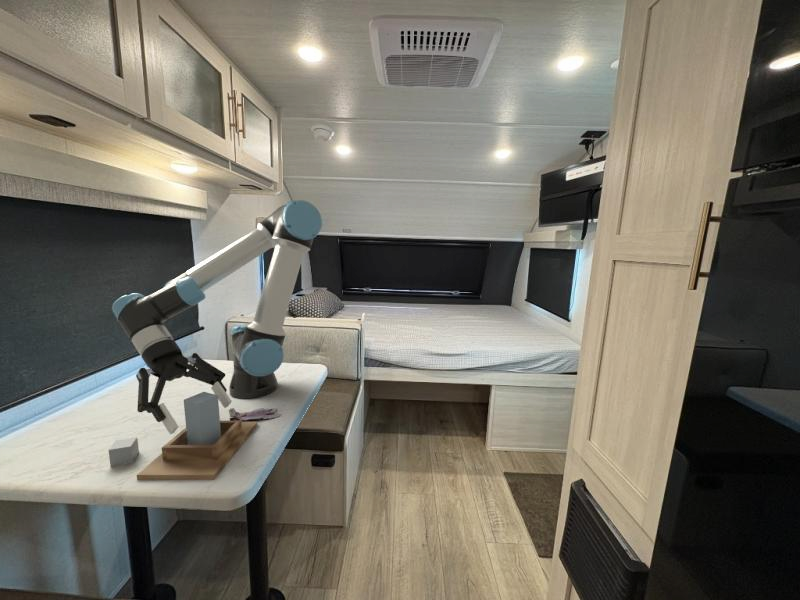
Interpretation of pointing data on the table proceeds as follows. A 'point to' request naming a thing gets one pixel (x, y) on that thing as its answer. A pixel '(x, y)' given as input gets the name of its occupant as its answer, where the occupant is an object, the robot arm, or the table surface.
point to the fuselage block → (202, 419)
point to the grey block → (123, 451)
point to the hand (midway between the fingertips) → (203, 416)
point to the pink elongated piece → (253, 414)
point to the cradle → (198, 454)
